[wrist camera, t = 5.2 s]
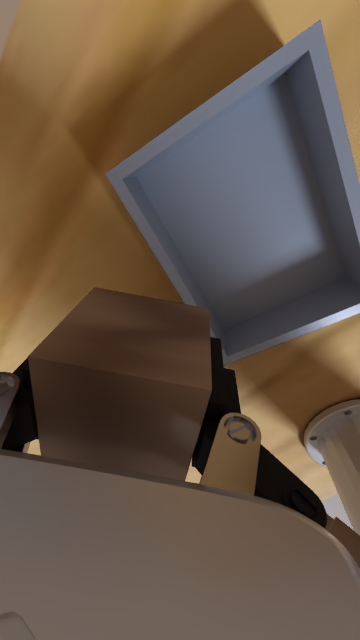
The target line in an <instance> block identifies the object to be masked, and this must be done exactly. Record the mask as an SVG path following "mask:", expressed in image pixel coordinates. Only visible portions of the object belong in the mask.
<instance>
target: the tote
mask: <svg viewBox="0 0 360 640" xmlns="http://www.w3.org/2000/svg"><path fill="white" fill-rule="evenodd" d="M105 175H106V177H107V178H108V180H109V182H110V183H111V185H112V187H113V188H114V190H115V191H116V193H117V195H118V196H119V198H120V199H121V201H122V203H123V204H124V206H125V208H126V209H127V211H128V212H129V214H130V216H131V217H132V219H133V221H134V222H135V224H136V225H137V227H138V229H139V230H140V232H141V234H142V235H143V237H144V238H145V240H146V242H147V243H148V245H149V247H150V248H151V250H152V251H153V253H154V255H155V256H156V258H157V260H158V261H159V263H160V264H161V266H162V268H163V269H164V271H165V273H166V274H167V276H168V277H169V279H170V281H171V282H172V284H173V286H174V287H175V289H176V290H177V292H178V294H179V295H180V297H181V298H182V300H183V302H184V303H185V304H187V305H192V306H198V307H203V308H208V309H209V315H210V337H214V338H220V339H221V346H222V356H223V366H225V365H228V364H230V363H233V362H235V361H238V360H240V359H243V358H245V357H248V356H251V355H253V354H256V353H258V352H261V351H263V350H266V349H268V348H271V347H274V346H276V345H279V344H281V343H284V342H286V341H289V340H291V339H294V338H297V337H299V336H302V335H304V334H307V333H309V332H312V331H314V330H317V329H320V328H322V327H325V326H327V325H330V324H332V323H335V322H337V321H340V320H342V319H345V318H348V317H350V316H353V315H355V314H358V313H360V185H359V181H358V177H357V173H356V168H355V164H354V160H353V156H352V152H351V147H350V143H349V139H348V135H347V130H346V126H345V122H344V118H343V113H342V109H341V105H340V101H339V96H338V92H337V88H336V84H335V80H334V75H333V71H332V67H331V63H330V58H329V54H328V50H327V46H326V41H325V37H324V33H323V29H322V24H321V20H319V21H318V22H316V23H315V24H313V25H312V26H311V27H309V28H308V29H306V30H305V31H304V32H302V33H301V34H299V35H298V36H297V37H295V38H294V39H292V40H291V41H290V42H288V43H287V44H285V45H284V46H283V47H281V48H280V49H278V50H277V51H276V52H274V53H273V54H271V55H270V56H269V57H267V58H266V59H265V60H263V61H262V62H260V63H259V64H258V65H256V66H255V67H253V68H252V69H251V70H249V71H248V72H246V73H245V74H244V75H242V76H241V77H239V78H238V79H237V80H235V81H234V82H232V83H231V84H230V85H228V86H227V87H225V88H224V89H223V90H221V91H220V92H218V93H217V94H216V95H214V96H213V97H211V98H210V99H209V100H207V101H206V102H204V103H203V104H202V105H200V106H199V107H198V108H196V109H195V110H193V111H192V112H191V113H189V114H188V115H186V116H185V117H184V118H182V119H181V120H179V121H178V122H177V123H175V124H174V125H172V126H171V127H170V128H168V129H167V130H165V131H164V132H163V133H161V134H160V135H158V136H157V137H156V138H154V139H153V140H151V141H150V142H149V143H147V144H146V145H144V146H143V147H142V148H140V149H139V150H137V151H136V152H135V153H133V154H132V155H130V156H129V157H128V158H126V159H125V160H124V161H122V162H121V163H119V164H118V165H117V166H115V167H114V168H112V169H111V170H110V171H108V172H107V173H105Z"/></svg>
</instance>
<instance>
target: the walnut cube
mask: <svg viewBox="0 0 360 640" xmlns="http://www.w3.org/2000/svg"><path fill="white" fill-rule="evenodd" d="M28 362H29V369H30V376H31V384H32V391H33V399H34V406H35V414H36V421H37V429H38V436H39V443H40V451H41V456H45V457H51V458H57V459H62V460H68V461H74V462H80V463H85V464H91V465H97V466H102V467H108V468H114V469H119V470H125V471H130V472H136V473H141V474H147V475H152V476H158V477H164V478H169V479H175V480H180V481H185V479H186V475H187V472H188V469H189V465H190V462H191V459H192V455H193V452H194V449H195V445H196V442H197V439H198V435H199V432H200V429H201V425H202V422H203V418H204V415H205V412H206V408H207V405H208V402H209V398H210V395H211V392H212V377H211V346H210V315H209V309H208V308H203V307H198V306H192V305H187V304H181V303H176V302H171V301H165V300H160V299H155V298H149V297H144V296H138V295H133V294H128V293H122V292H117V291H111V290H106V289H101V288H94V289H93V290H92V291H91V292H90V293H89V294H88V295H87V296H86V297H85V298H84V299H83V300H82V301H81V302H80V303H79V304H78V305H77V306H76V307H75V308H74V309H73V310H72V311H71V312H70V313H69V314H68V316H67V317H66V318H65V319H64V320H63V321H62V322H61V323H60V324H59V325H58V326H57V327H56V328H55V329H54V330H53V331H52V332H51V333H50V334H49V335H48V336H47V337H46V338H45V339H44V340H43V341H42V342H41V343H40V344H39V346H38V347H37V348H36V349H35V350H34V351H33V352H32V353H31V354H30V355H29V356H28Z"/></svg>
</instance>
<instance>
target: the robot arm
mask: <svg viewBox="0 0 360 640" xmlns="http://www.w3.org/2000/svg"><path fill="white" fill-rule="evenodd" d="M210 346H211V377H212V392H211V395H210V398H209V402H208V405H207V408H206V412H205V415H204V418H203V422H202V425H201V429H200V432H199V435H198V439H197V442H196V445H195V449H194V452H193V455H192V466H193V467H195V468H196V469H197V470H198V471H199V472H200V474H201V475H202V477H201V480H200V483H199V484H196V483H191V482H186V481H180V480H175V479H169V478H164V477H158V476H152V475H147V474H141V473H136V472H130V471H125V470H119V469H114V468H108V467H102V466H97V465H91V464H85V463H80V462H74V461H68V460H62V459H57V458H51V457H45V456H40V455H34V454H28V453H27V452H28V448H29V444H30V442H31V441H33V440H35V439H39V436H38V429H37V421H36V414H35V406H34V399H33V391H32V384H31V376H30V369H29V362H28V358H27V359H26V360H25V361H24V362H23V363H22V364H21V365H20V366H19V367H18V368H17V369H16V370H15V371H14V372H13V373H10V372H0V640H360V399H356V400H350V401H346V402H342V403H339V404H337V405H334V406H332V407H330V408H328V409H326V410H324V411H323V412H321V413H320V414H318V415H317V416H316V417H315V418H314V419H313V420H312V421H311V422H310V423H309V425H308V426H307V428H306V430H305V433H304V445H305V448H306V451H307V452H308V454H309V456H310V457H311V458H312V459H313V460H314V461H315V462H317V463H319V464H320V465H323V466H325V467H327V468H328V471H329V473H330V475H331V478H332V480H333V482H334V485H335V487H336V490H337V492H338V494H339V497H340V499H341V501H342V503H343V506H344V508H345V510H346V513H347V515H348V518H349V520H350V522H351V525H352V526H353V529H354V531H353V530H352V529H351V528H350V527H348V526H347V525H346V524H345V523H343V522H342V521H341V520H340V519H339V518H337V517H335V518H334V519H333V518H331V517H330V516H329V515H327V514H326V511H325V508H324V505H323V504H322V502H321V500H320V499H319V497H318V496H317V495H316V494H315V493H314V492H313V491H312V490H311V489H310V488H309V487H308V486H307V485H306V484H304V483H303V482H302V481H301V480H300V479H299V478H298V477H297V476H296V475H294V474H293V473H292V472H291V471H290V470H289V469H288V468H287V467H286V466H284V465H283V464H282V463H281V462H280V461H279V460H278V459H277V458H276V457H274V456H273V455H272V454H271V453H270V452H269V451H268V450H267V449H266V448H265V447H263V446H262V445H261V432H260V429H259V427H258V426H257V424H256V423H255V422H254V421H253V420H252V419H250V418H249V417H247V416H245V415H243V414H241V410H240V404H239V397H238V390H237V384H236V377H235V372H234V370H231V369H225V368H224V367H223V356H222V346H221V339H220V338H214V337H210Z"/></svg>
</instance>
